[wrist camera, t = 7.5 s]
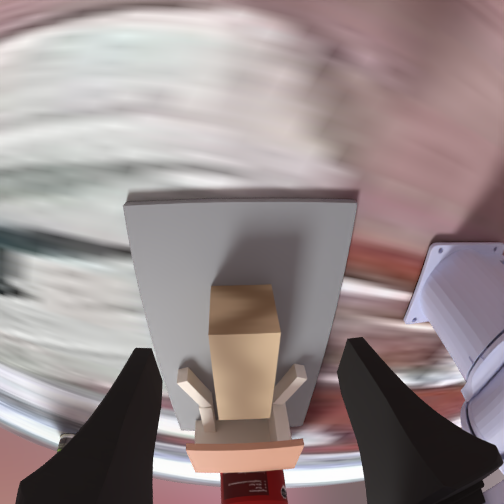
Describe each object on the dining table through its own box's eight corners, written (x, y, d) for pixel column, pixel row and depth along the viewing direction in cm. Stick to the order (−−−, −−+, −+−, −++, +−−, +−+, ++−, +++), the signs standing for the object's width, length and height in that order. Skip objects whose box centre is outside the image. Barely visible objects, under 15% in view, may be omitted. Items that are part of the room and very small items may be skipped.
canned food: (256, 457, 38) (263, 523, 29) (208, 447, 35) (209, 520, 26) (291, 438, 35) (303, 512, 26) (240, 427, 32) (246, 512, 23)
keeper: (353, 199, 19) (402, 254, 13) (301, 421, 33) (310, 469, 27) (125, 202, 18) (85, 260, 12) (181, 425, 32) (178, 475, 26)
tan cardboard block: (271, 284, 21) (280, 332, 17) (264, 374, 26) (269, 417, 22) (210, 285, 21) (208, 334, 17) (218, 376, 26) (218, 419, 22)
